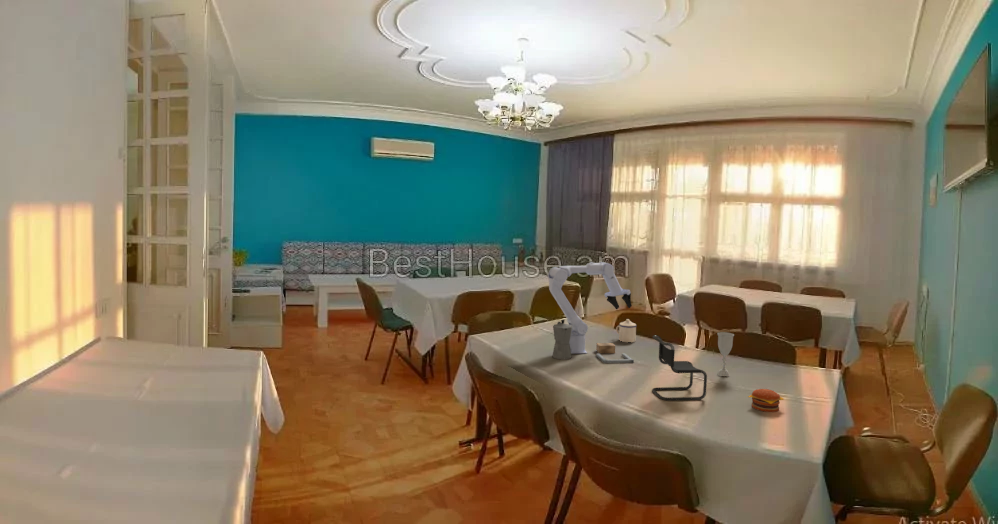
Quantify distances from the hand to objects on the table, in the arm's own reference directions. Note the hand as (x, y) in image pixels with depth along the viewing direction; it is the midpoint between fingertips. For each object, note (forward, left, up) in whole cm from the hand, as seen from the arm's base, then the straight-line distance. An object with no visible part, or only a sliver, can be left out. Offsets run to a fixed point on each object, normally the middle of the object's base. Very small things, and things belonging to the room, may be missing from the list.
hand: (623, 307), depth 286 cm
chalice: (+29, -47, -21) cm, 59 cm away
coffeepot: (-34, -12, -21) cm, 42 cm away
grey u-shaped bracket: (-10, -18, -21) cm, 30 cm away
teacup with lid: (+8, +18, -21) cm, 29 cm away
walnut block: (-10, -5, -21) cm, 24 cm away
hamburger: (+24, -86, -21) cm, 92 cm away
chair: (-2, -70, -21) cm, 73 cm away
